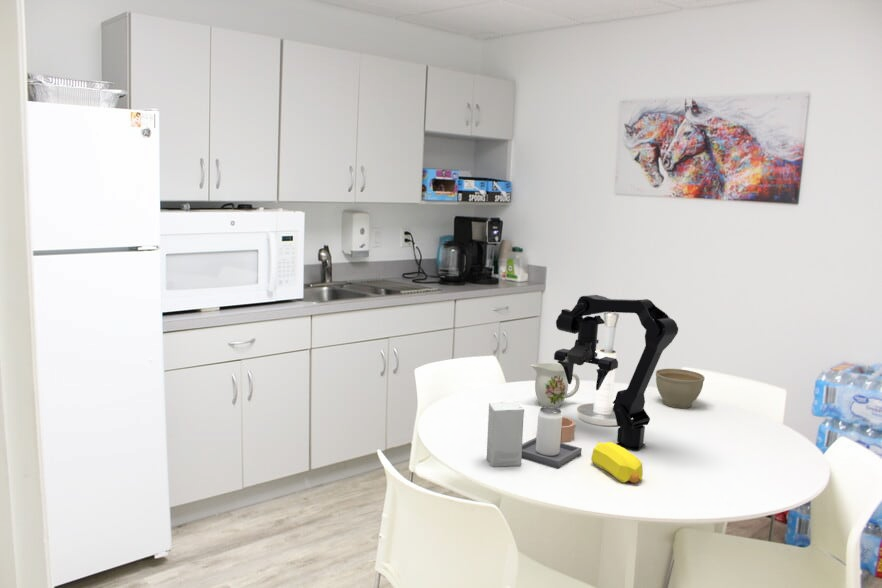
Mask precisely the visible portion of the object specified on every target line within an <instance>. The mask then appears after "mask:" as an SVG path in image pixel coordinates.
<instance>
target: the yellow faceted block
mask: <svg viewBox="0 0 882 588" xmlns="http://www.w3.org/2000/svg"><path fill="white" fill-rule="evenodd" d="M598 442H599V441H598ZM590 461H592V463H593V464H594V465H595V466H597V467H598V468H600V469H602V470H604V471H606V472H607V473H609V474H610V475H611V476H613V477H614V478H615V479H616V480H618V481H619V482H621V483H626V482H628V481H629V482H630V483H633V484H635V483H638V482H640V481H642V479H643V475H644V474H643V462H642V461H641V460H640V459H639V458H638V457H637V456H636V455H634V454H633V453H632V452H630V451H628V450H627V448H624V447H621V446H619V445H617V444H616V443H614V442H612V441H607V442H599V443H597V444H596V446H594V448H593V450H592V453H591V458H590Z"/></svg>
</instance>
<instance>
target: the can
mask: <svg viewBox="0 0 882 588" xmlns="http://www.w3.org/2000/svg"><path fill="white" fill-rule="evenodd" d="M539 409H540V410H539V412H538V415H537V426H536V437H537V438H536V437H535V438H536V451H537V453H538V454H540V455H543V456H556V455H558V454H559V452H560V440H561V427H562V417H563V414H562V410H561V409H559V407H556V408H554V407H544V406H542V407H540V408H539Z"/></svg>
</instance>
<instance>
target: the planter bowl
mask: <svg viewBox="0 0 882 588" xmlns="http://www.w3.org/2000/svg"><path fill="white" fill-rule="evenodd" d="M655 376H656V377H655V383H656V388H657V390H658V394H659V395H660V397H661V398H662V402H663V404H665V405H666V406H668V407H672V408H679V409H685V408H691V407H692V405H693V403H694V402H695V401H697V398H698V397H699V395H700V394H701V393H702V390H703V386H704V381H705V376H704V375H703V374H701V373H699V372H697V371H694V370H689V369H682V368H661V369H657V370H656V371H655Z"/></svg>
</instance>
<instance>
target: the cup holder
mask: <svg viewBox="0 0 882 588" xmlns="http://www.w3.org/2000/svg"><path fill="white" fill-rule="evenodd" d="M575 429H576V421H575V420H573V419H572V418H570V417H565V416H562V427H561V440H560V442H561V443H568V442H567V441H569V442H571V441H573V440H575V431H576V430H575Z"/></svg>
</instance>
